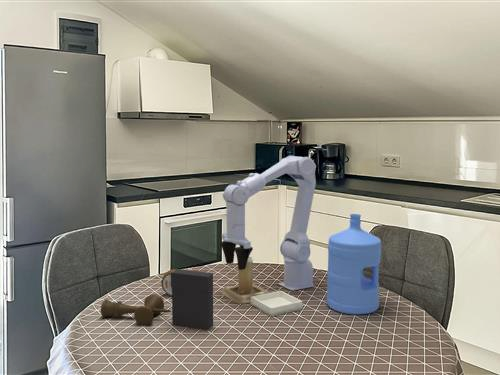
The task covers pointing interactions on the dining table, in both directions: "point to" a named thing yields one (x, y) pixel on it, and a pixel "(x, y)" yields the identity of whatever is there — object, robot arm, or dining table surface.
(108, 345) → the dining table surface
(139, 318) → the kendama
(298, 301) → the tray
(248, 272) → the skincare box
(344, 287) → the water jug
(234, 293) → the wooden square frame
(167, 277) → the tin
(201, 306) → the black upright block
